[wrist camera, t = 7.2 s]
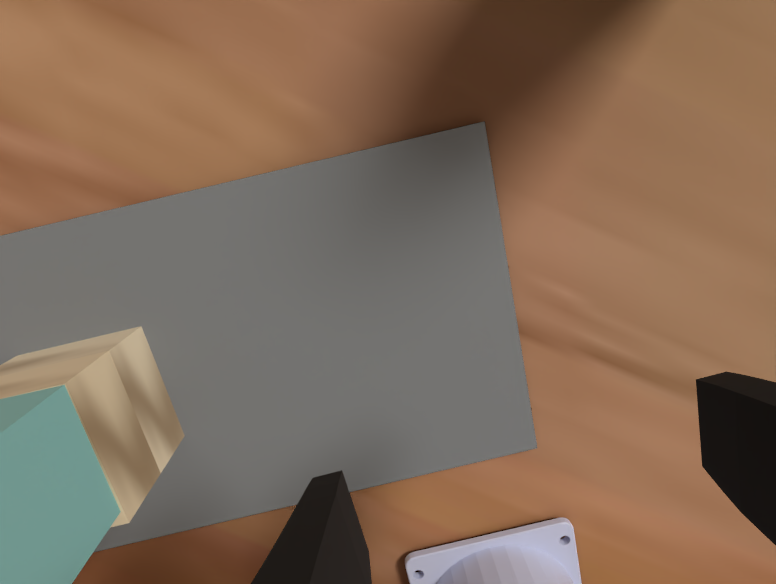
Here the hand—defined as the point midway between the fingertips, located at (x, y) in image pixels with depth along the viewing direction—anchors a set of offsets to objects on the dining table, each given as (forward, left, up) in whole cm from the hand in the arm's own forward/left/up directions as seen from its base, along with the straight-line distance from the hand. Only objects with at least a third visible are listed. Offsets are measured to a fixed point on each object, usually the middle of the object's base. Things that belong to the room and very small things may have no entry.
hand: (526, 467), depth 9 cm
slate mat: (0, +9, -10) cm, 13 cm away
